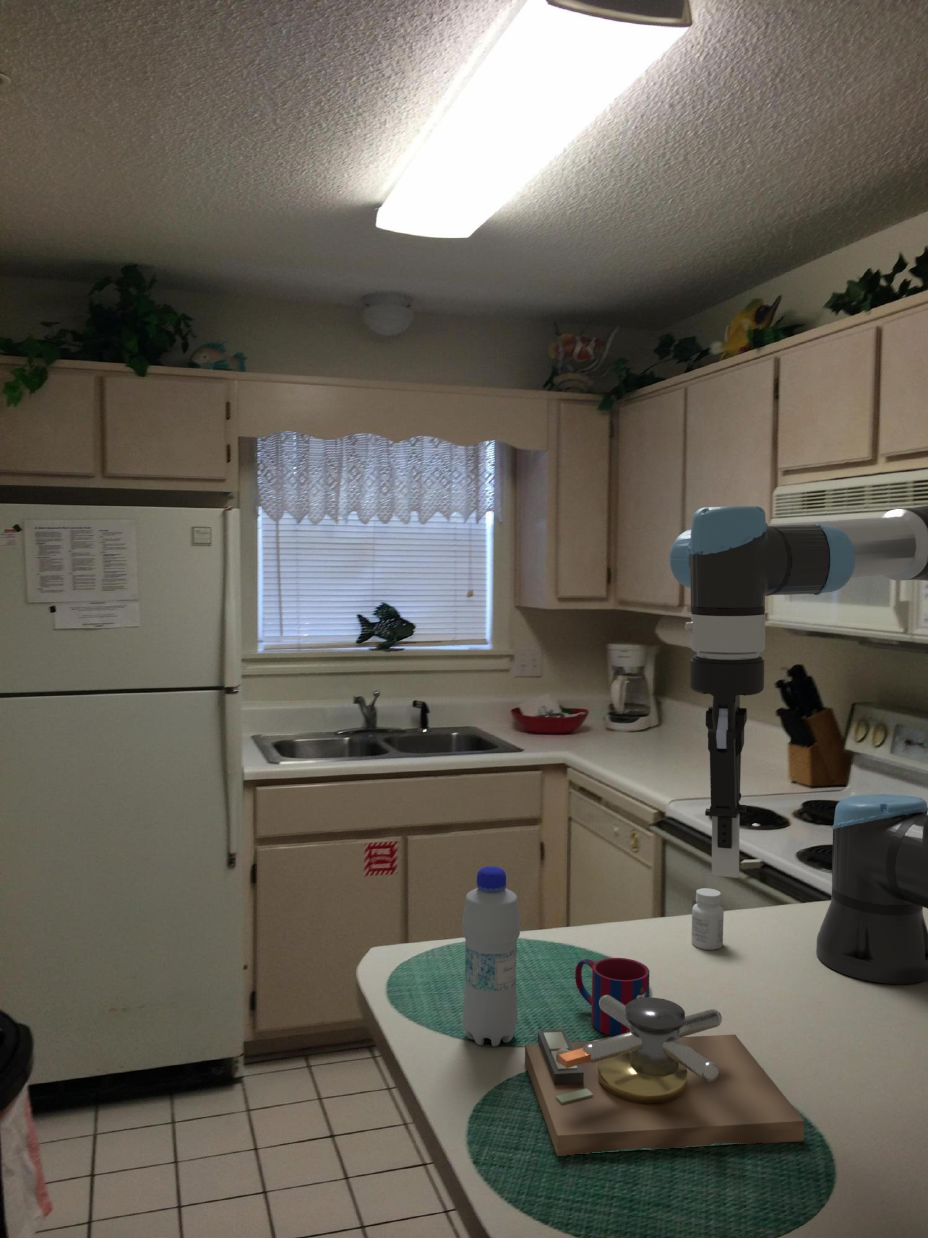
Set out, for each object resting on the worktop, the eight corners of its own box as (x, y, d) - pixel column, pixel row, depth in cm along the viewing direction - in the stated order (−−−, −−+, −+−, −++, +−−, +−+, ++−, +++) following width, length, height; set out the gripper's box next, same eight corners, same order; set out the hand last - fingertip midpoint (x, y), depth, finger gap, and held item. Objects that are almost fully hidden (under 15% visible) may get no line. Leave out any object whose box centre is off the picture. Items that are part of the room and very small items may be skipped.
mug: (620, 1044, 112) (621, 986, 112) (560, 1011, 120) (561, 957, 120) (660, 1027, 116) (661, 971, 116) (600, 997, 124) (601, 944, 124)
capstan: (781, 1094, 98) (783, 1028, 97) (618, 1152, 88) (619, 1079, 87) (664, 1019, 113) (665, 962, 113) (514, 1061, 103) (514, 999, 103)
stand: (732, 1049, 111) (734, 1011, 111) (803, 1141, 94) (805, 1096, 94) (524, 1060, 108) (524, 1021, 108) (557, 1156, 91) (557, 1110, 91)
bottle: (500, 1057, 109) (502, 881, 108) (449, 1041, 112) (451, 870, 111) (529, 1033, 115) (531, 864, 113) (480, 1018, 118) (481, 855, 117)
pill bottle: (715, 938, 144) (717, 886, 143) (727, 950, 139) (729, 896, 139) (686, 939, 143) (688, 887, 143) (698, 951, 139) (699, 897, 138)
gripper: (697, 647, 110) (696, 852, 112) (682, 660, 98) (681, 891, 100) (767, 648, 108) (765, 859, 109) (760, 662, 95) (758, 899, 97)
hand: (725, 874), depth 105 cm, fingers closed
